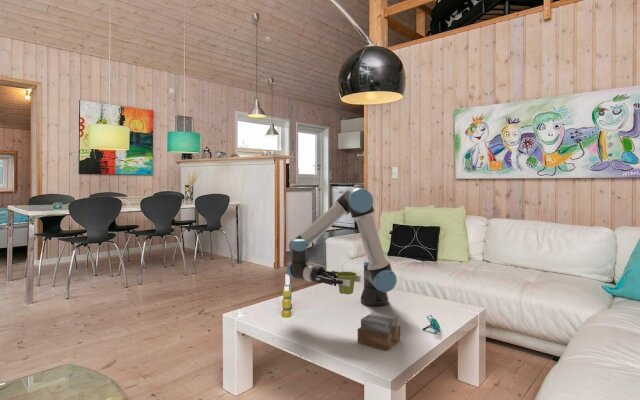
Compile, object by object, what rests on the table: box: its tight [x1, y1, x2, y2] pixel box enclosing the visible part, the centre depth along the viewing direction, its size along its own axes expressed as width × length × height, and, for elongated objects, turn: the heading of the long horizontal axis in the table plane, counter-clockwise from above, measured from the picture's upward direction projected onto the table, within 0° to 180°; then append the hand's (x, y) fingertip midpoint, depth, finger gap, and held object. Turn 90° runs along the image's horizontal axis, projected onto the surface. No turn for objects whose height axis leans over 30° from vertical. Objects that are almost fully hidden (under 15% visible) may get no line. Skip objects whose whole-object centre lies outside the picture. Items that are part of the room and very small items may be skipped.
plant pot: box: [336, 271, 358, 295], centre depth 180 cm, size 9×9×9 cm
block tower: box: [357, 311, 401, 352], centre depth 165 cm, size 13×13×10 cm
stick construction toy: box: [422, 314, 441, 334], centre depth 178 cm, size 12×7×8 cm
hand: (355, 281), depth 177 cm, fingers closed on plant pot, 8 cm apart
